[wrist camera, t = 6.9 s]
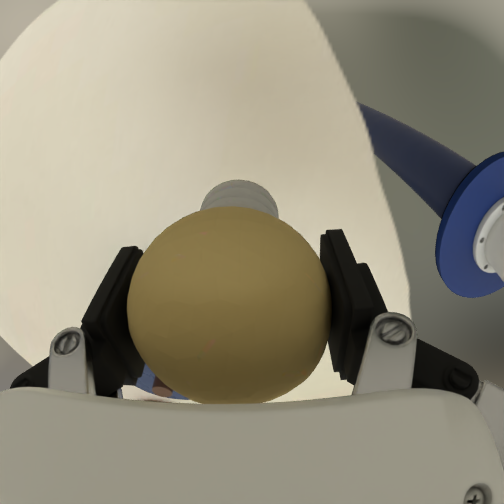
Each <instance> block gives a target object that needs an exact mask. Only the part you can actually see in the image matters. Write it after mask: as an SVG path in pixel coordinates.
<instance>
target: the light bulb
mask: <svg viewBox="0 0 504 504" xmlns="http://www.w3.org/2000/svg"><path fill="white" fill-rule="evenodd" d="M127 316H128V325H129V331H130V334H131V337H132V340H133V342H134V344H135V347H136V349H137V350H138V352H139V354H140V356H141V357H142V359H143V360H144V362H145V363H146V365H147V366H148V367H149V369H150V370H151V371H152V372H153V373H154V374H155V375H156V376H157V377H158V378H159V379H160V380H161V381H162V382H163V383H164V384H165V385H167V386H168V387H170V388H171V389H172V390H174V391H175V392H177V393H179V394H181V395H183V396H184V397H186V398H188V399H190V400H192V401H195V402H198V403H202V404H253V403H263V402H267V401H270V400H273V399H275V398H277V397H279V396H282V395H284V394H286V393H288V392H289V391H291V390H292V389H294V388H295V387H297V386H298V385H300V384H301V383H302V382H304V381H305V380H306V379H307V378H308V377H309V376H310V375H311V373H312V372H313V371H314V369H315V368H316V366H317V365H318V363H319V361H320V359H321V357H322V355H323V353H324V351H325V348H326V344H327V341H328V338H329V333H330V328H331V320H332V298H331V291H330V286H329V283H328V279H327V276H326V273H325V270H324V268H323V266H322V264H321V261H320V259H319V257H318V256H317V254H316V253H315V252H314V250H313V249H312V247H311V246H310V245H309V243H308V242H307V241H306V240H305V239H304V238H303V237H302V236H301V235H300V234H299V233H298V232H297V231H296V230H294V229H293V228H292V227H291V226H289V225H288V224H286V223H285V222H283V221H281V220H280V219H279V218H278V210H277V206H276V203H275V201H274V199H273V198H272V196H271V195H270V194H269V192H268V191H267V190H266V189H264V188H263V187H262V186H260V185H258V184H256V183H253V182H250V181H245V180H230V181H227V182H223V183H221V184H219V185H218V186H216V187H214V188H213V189H212V190H211V191H210V192H209V193H208V194H207V195H206V197H205V199H204V201H203V203H202V206H201V209H200V211H198V212H195V213H192V214H190V215H188V216H186V217H183V218H182V219H180V220H178V221H177V222H175V223H174V224H172V225H170V226H169V227H167V228H166V229H165V230H164V231H163V232H162V233H161V234H160V235H159V236H157V237H156V238H155V239H154V241H153V242H152V243H151V245H150V246H149V247H148V248H147V250H146V251H145V252H144V254H143V255H142V257H141V259H140V260H139V262H138V265H137V267H136V269H135V272H134V274H133V276H132V280H131V284H130V288H129V293H128V298H127Z"/></svg>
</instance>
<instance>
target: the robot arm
mask: <svg viewBox="0 0 504 504" xmlns="http://www.w3.org/2000/svg"><path fill="white" fill-rule="evenodd" d="M143 254H144V253H143V251H142V250H141V249H138V247H137V246H130V247H122V248H121V250H120V251H119V253H118V255H117V256H116V258H115V260H114V261H113V263H112V265H111V267H110V268H109V270H108V272H107V274H106V275H105V277H104V279H103V281H102V283H101V284H100V286H99V288H98V290H97V292H96V294H95V296H94V297H93V299H92V301H91V303H90V305H89V307H88V309H87V311H86V313H85V315H84V317H83V319H82V321H81V322H82V325H81V328H80V329H79V328H77V327H70V328H66V329H64V330H62V331H61V332H59V333H58V334H57V335H56V336H55V337H54V339H53V340H52V342H51V346H50V355H49V357H47V358H46V359H44V360H42V361H41V362H39V363H38V364H36V365H35V366H33V367H32V368H30V369H28V370H27V371H25V372H24V373H22V374H21V375H19V376H18V377H17V378H16V379H15V380H14V381H13V383H12V385H11V387H10V389H8V390H5V391H2V392H0V504H504V389H503V388H501V387H498V386H497V385H495V384H493V383H491V382H489V381H487V380H485V381H484V382H481V381H480V380H479V378H478V375H477V373H476V371H475V370H474V369H473V367H472V366H470V365H469V364H467V363H466V362H464V361H461V360H460V359H457V358H455V357H454V356H452V355H449V354H448V353H446V352H443V351H442V350H439V349H438V348H436V347H434V346H432V345H429V344H427V343H425V342H423V341H421V340H420V339H417V328H416V326H415V324H414V323H413V322H412V321H411V320H410V318H408V317H406V316H405V315H403V314H400V313H395V312H388V311H387V308H386V306H385V303H384V301H383V299H382V296H381V294H380V292H379V289H378V287H377V285H376V282H375V280H374V278H373V276H372V273H371V271H370V269H369V267H368V265H367V264H366V263H358V264H357V263H356V260H355V258H354V256H353V253H352V251H351V249H350V246H349V244H348V242H347V239H346V237H345V235H344V233H343V231H342V229H336V230H326V234H322V235H321V238H320V261H321V264H322V266H323V268H324V270H325V273H326V276H327V279H328V283H329V286H330V291H331V298H332V320H331V328H330V333H329V338H328V344H329V350H330V355H331V360H332V365H333V370H334V372H339V373H340V378H341V380H346V379H347V382H349V383H351V384H352V385H354V388H353V391H352V395H350V396H342V397H333V398H323V399H313V400H303V401H290V402H275V403H253V404H189V403H167V402H152V401H140V400H129V399H123V395H122V389H121V387H123V385H133V386H136V383H137V380H138V378H140V377H141V376H142V374H143V370H144V367H145V362H144V360H143V359H142V357H141V356H140V354H139V352H138V350H137V349H136V347H135V344H134V342H133V340H132V337H131V334H130V331H129V325H128V316H127V298H128V293H129V288H130V284H131V280H132V276H133V274H134V272H135V269H136V267H137V265H138V262H139V260H140V259H141V257H142V255H143ZM473 257H474V260H475V262H476V264H477V265H478V266H479V268H480V269H481V270H482V271H484V272H487V273H495V272H496V273H497V274H498V275H499V276H500V278H501V279H502V280H503V282H504V197H503V198H502V199H500V200H499V201H497V202H496V203H495V204H494V205H493V206H492V207H491V208H490V209H489V210H488V212H487V213H486V214H485V216H484V217H483V219H482V221H481V222H480V224H479V226H478V229H477V231H476V234H475V237H474V242H473Z"/></svg>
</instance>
